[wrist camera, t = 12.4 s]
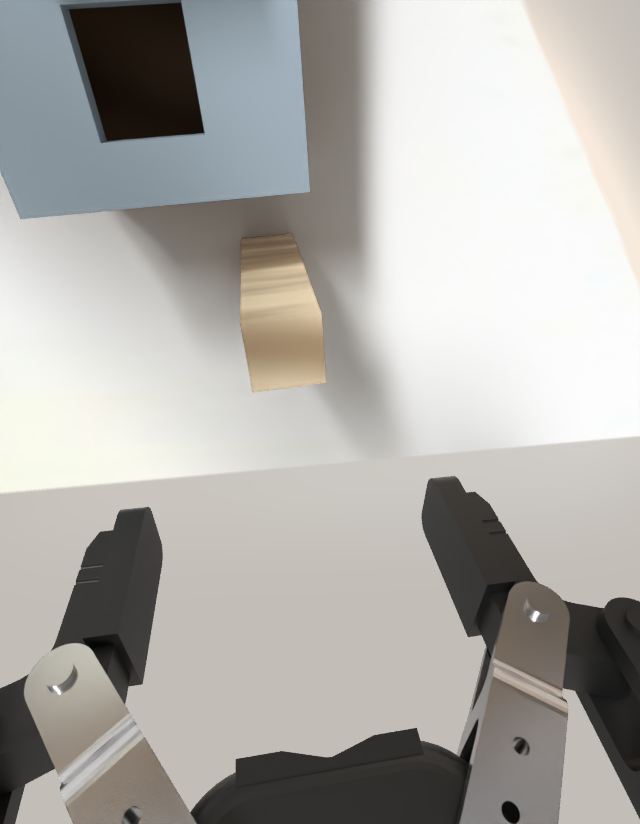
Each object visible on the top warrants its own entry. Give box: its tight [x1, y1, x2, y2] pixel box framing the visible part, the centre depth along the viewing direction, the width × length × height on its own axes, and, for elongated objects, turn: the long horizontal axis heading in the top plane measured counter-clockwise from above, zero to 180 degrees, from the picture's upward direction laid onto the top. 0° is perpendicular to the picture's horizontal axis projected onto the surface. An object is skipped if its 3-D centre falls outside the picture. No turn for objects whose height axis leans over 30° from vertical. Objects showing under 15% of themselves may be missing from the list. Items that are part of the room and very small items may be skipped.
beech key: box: [240, 234, 326, 392], centre depth 30 cm, size 4×4×16 cm
